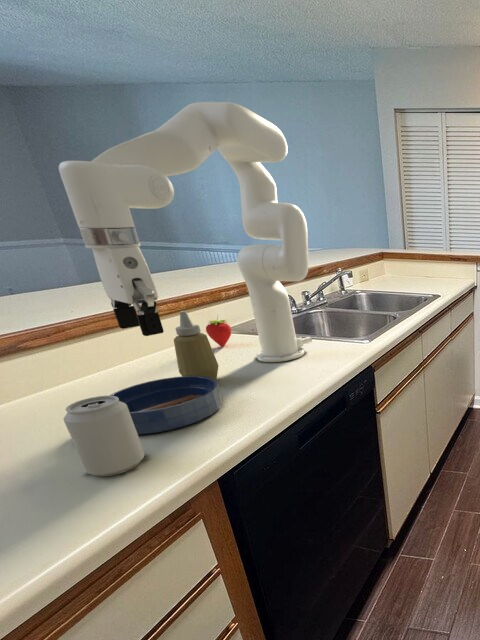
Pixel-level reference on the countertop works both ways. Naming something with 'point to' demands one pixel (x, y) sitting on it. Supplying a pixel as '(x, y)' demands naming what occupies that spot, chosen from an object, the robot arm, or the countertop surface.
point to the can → (104, 435)
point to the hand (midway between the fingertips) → (141, 330)
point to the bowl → (166, 392)
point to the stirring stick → (173, 402)
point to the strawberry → (219, 331)
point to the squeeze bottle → (194, 350)
